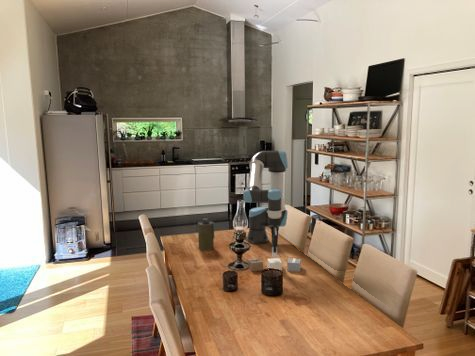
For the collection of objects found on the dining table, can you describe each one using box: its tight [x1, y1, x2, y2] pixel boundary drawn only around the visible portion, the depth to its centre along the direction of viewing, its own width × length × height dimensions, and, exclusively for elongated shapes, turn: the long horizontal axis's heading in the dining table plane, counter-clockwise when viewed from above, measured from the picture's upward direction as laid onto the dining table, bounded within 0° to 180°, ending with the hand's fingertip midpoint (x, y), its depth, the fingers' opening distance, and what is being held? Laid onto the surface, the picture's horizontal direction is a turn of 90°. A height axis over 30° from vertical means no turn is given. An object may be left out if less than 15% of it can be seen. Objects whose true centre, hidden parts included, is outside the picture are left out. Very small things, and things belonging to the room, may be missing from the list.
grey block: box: [286, 257, 302, 273], centre depth 217 cm, size 7×7×5 cm
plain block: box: [266, 257, 283, 272], centre depth 218 cm, size 7×7×5 cm
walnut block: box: [247, 257, 264, 272], centre depth 219 cm, size 7×7×5 cm
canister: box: [197, 218, 215, 251], centre depth 255 cm, size 11×10×20 cm
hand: (274, 257), depth 218 cm, fingers closed
